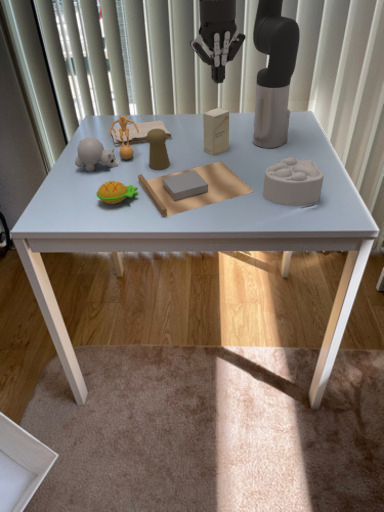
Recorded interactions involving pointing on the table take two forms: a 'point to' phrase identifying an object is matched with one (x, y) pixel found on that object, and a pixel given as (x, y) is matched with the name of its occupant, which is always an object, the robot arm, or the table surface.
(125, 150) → the figurine
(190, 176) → the slate tile
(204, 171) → the oak board
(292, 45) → the robot arm
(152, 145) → the olive pepper mill
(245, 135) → the table surface
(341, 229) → the table surface
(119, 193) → the toy pineapple
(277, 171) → the lumpy-topped squat cylinder
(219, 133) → the skincare box
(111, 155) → the chubby cartoon animal
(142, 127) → the washcloth
